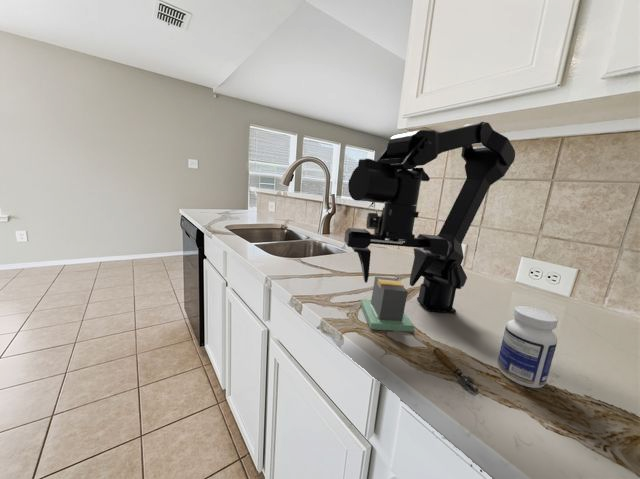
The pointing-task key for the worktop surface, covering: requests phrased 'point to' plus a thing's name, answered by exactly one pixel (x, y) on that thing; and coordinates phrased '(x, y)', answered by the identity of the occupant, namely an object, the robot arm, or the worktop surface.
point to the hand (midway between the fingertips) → (388, 283)
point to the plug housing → (389, 298)
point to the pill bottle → (528, 347)
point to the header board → (385, 324)
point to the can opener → (456, 372)
